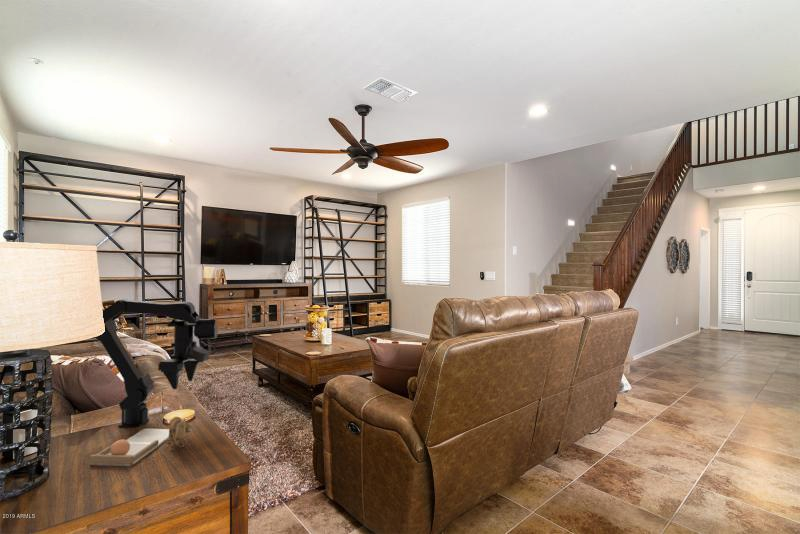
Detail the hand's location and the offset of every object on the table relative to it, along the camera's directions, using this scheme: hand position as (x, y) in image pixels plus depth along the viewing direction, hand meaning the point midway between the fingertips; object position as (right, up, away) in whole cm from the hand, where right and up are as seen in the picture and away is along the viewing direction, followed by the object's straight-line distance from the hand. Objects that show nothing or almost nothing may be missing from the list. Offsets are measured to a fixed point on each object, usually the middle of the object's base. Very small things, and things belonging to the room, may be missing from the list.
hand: (182, 384), depth 136 cm
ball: (-2, -9, -27) cm, 29 cm away
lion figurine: (+8, -12, -18) cm, 23 cm away
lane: (-2, -12, -20) cm, 23 cm away
